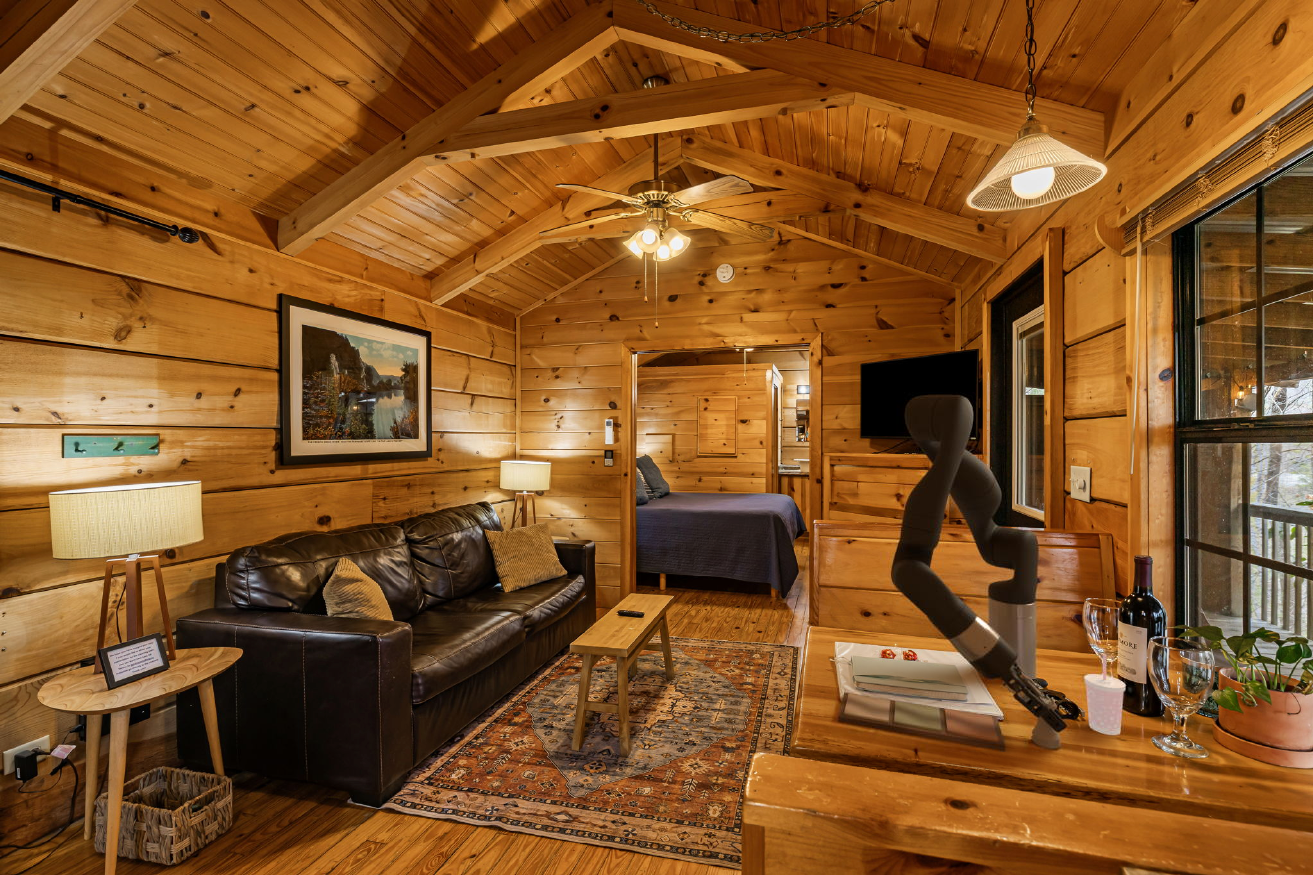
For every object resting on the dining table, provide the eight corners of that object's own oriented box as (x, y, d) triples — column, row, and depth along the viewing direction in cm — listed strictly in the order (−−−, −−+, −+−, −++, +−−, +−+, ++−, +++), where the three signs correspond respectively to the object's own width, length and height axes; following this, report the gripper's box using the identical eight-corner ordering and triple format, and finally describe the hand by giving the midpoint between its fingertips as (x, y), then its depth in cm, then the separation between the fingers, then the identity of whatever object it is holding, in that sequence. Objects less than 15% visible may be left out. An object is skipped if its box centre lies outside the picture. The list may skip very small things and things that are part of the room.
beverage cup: (1083, 717, 113) (1083, 645, 113) (1124, 726, 110) (1124, 652, 109) (1084, 730, 108) (1084, 655, 108) (1126, 740, 105) (1126, 663, 104)
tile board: (844, 696, 123) (844, 690, 123) (996, 721, 112) (996, 714, 112) (838, 721, 113) (838, 714, 113) (1005, 751, 102) (1005, 743, 102)
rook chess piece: (1066, 751, 101) (1066, 706, 101) (1037, 748, 102) (1037, 703, 102) (1054, 737, 106) (1054, 694, 106) (1026, 735, 107) (1026, 692, 106)
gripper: (1003, 646, 100) (1089, 731, 96) (992, 621, 113) (1068, 694, 108) (968, 672, 102) (1051, 756, 98) (961, 644, 115) (1034, 717, 111)
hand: (1059, 723), depth 103 cm, fingers closed on rook chess piece, 3 cm apart
